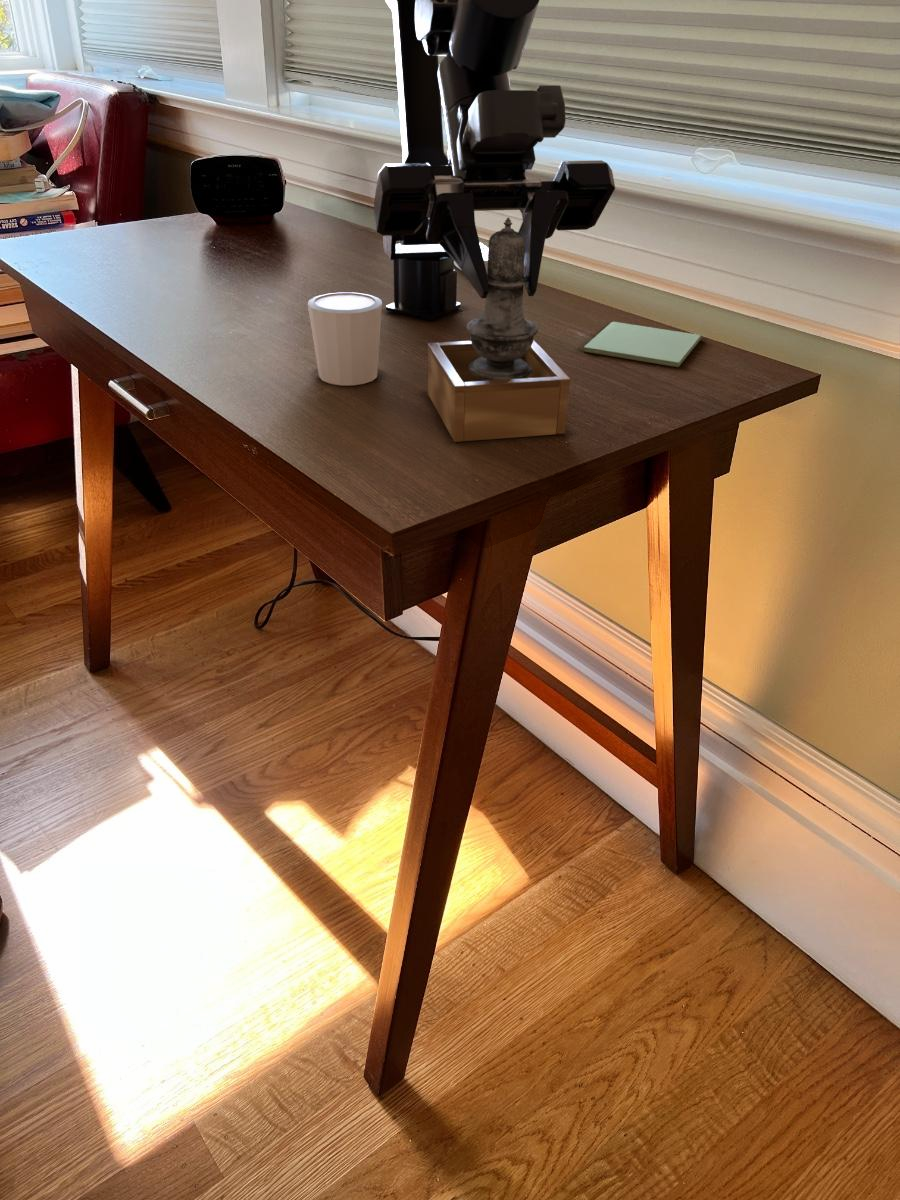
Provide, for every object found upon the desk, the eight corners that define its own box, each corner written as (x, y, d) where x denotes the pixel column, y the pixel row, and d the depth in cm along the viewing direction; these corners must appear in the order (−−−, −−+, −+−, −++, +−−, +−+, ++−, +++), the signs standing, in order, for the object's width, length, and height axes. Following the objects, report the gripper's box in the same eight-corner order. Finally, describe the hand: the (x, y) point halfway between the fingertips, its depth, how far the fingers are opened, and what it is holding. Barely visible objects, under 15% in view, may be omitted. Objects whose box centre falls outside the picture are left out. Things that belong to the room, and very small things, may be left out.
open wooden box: (427, 394, 83) (427, 342, 80) (528, 387, 85) (531, 337, 82) (453, 442, 74) (454, 386, 72) (565, 434, 76) (571, 379, 74)
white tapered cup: (355, 393, 83) (352, 316, 79) (297, 378, 86) (291, 303, 82) (398, 371, 88) (397, 298, 84) (341, 358, 91) (338, 286, 87)
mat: (583, 351, 94) (583, 346, 94) (611, 325, 101) (612, 321, 101) (678, 367, 90) (679, 362, 90) (700, 339, 98) (701, 334, 98)
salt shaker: (530, 385, 73) (541, 228, 66) (459, 378, 74) (463, 223, 67) (539, 360, 78) (550, 212, 71) (472, 354, 79) (477, 207, 72)
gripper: (375, 39, 64) (404, 239, 62) (622, 42, 68) (659, 231, 65) (363, 145, 75) (387, 319, 72) (576, 143, 79) (607, 308, 76)
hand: (508, 294), depth 71 cm, fingers closed on salt shaker, 3 cm apart
